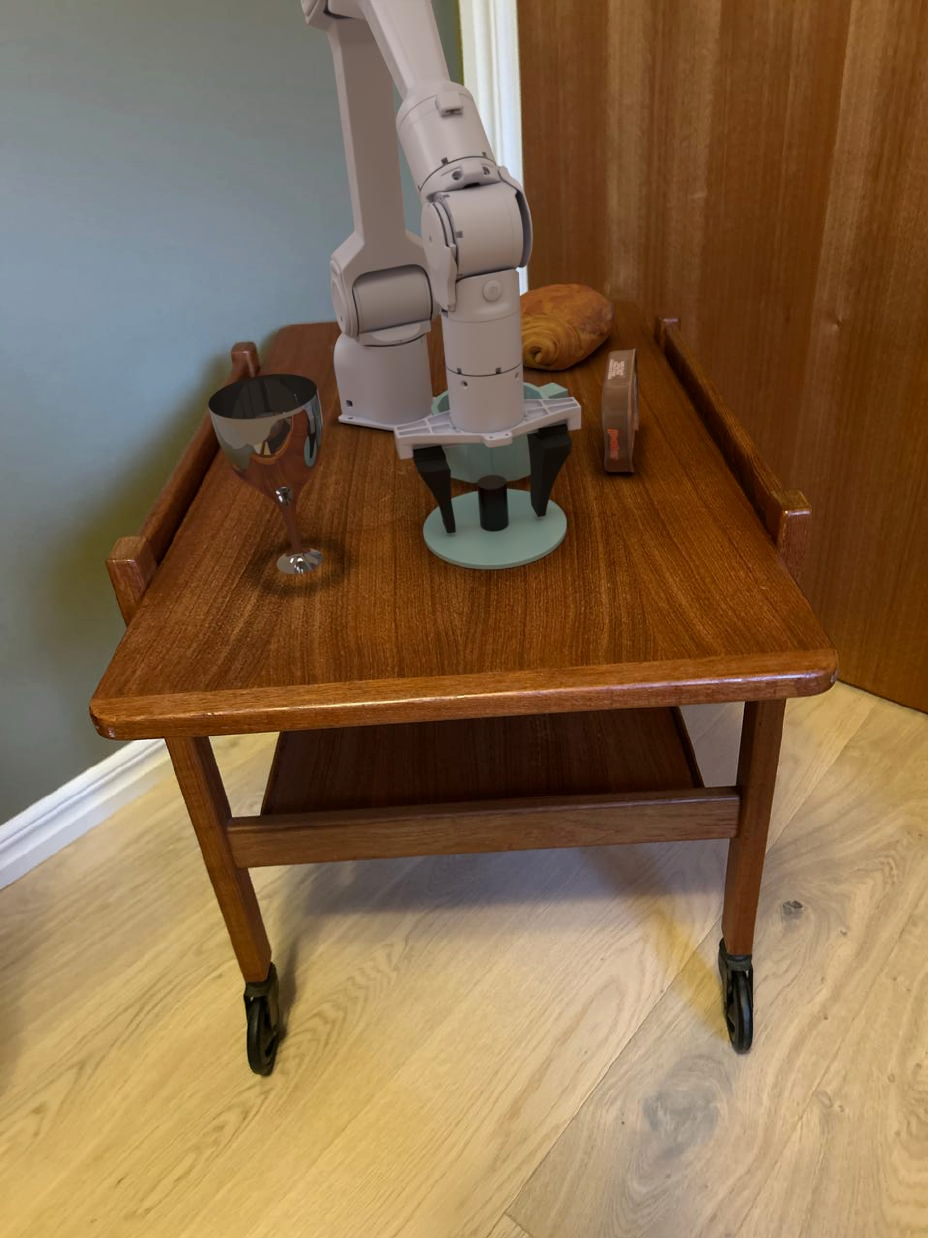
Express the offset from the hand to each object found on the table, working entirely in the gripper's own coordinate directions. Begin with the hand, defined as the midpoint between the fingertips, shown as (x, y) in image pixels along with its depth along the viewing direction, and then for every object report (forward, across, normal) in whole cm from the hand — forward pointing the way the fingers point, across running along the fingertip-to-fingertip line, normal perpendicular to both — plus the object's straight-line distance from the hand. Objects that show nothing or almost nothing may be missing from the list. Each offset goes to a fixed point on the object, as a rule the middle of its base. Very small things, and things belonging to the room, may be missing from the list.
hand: (494, 518), depth 76 cm
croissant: (+2, +16, +38) cm, 42 cm away
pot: (+2, +3, +13) cm, 14 cm away
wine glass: (+2, -16, +1) cm, 17 cm away
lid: (+1, 0, 0) cm, 1 cm away
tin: (+2, +15, +11) cm, 19 cm away
